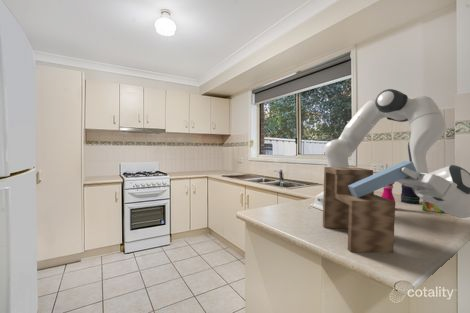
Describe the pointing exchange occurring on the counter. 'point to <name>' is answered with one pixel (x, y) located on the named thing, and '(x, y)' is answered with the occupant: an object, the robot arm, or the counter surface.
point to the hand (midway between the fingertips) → (396, 168)
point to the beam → (380, 179)
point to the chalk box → (430, 207)
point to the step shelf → (358, 211)
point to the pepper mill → (388, 192)
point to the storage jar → (409, 195)
